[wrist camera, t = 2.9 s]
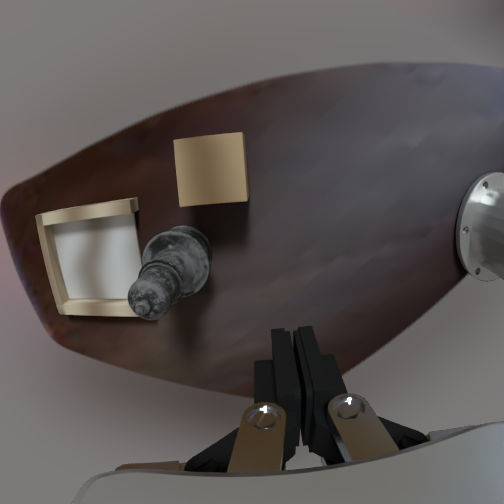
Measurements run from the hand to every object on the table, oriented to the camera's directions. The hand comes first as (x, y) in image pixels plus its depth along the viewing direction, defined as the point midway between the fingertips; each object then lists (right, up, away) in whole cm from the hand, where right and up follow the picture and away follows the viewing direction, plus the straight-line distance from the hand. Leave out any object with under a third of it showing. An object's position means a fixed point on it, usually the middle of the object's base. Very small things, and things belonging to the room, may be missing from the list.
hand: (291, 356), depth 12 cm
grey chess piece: (-8, +4, +16) cm, 19 cm away
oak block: (-5, +12, +14) cm, 19 cm away
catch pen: (-18, +4, +17) cm, 25 cm away
